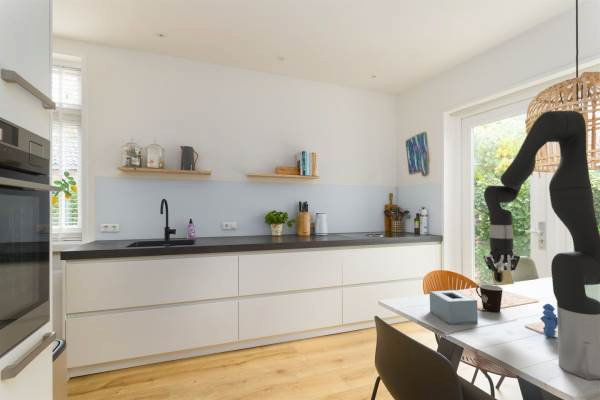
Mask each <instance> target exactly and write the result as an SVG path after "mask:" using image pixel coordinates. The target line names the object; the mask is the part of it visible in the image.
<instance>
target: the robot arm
mask: <svg viewBox="0 0 600 400" xmlns="http://www.w3.org/2000/svg"><path fill="white" fill-rule="evenodd" d="M586 125H587V124H586V119H585V117H584V115H583V114H582V113H581V112H579V111H576V110H549V111H545V112H543V113H541V114H540V115H539V116H538V117H537V118H536V119H535V120H534V122H533V123H532V125H531V127H530V129H529V131H528V133H527V135H526V136H525V138H524V140H523V142H522V144H521V146H520V148H519V150H518V151H517V154H516V155H515V157H514V159H513V160H512V162H511V163H510V164H509V166H508V167H507V168H505V169H506V170H505V171H504V172H503V173H502V174H501V177H500V182H501V184H490V185H488V186H487V187H486V188H485V189H484V191H483V197H484V201H485V204H486V206H487V210H488V212H489V213H488V214H489V233H488V234H489V249H490V252H489V254H488V255H483V256H482V257H483V259H484V262H485V264H486V266H487V268H488V269H489V270H490V271H492V272H494V279H495V281H496V282H501V273H500V272H501V271H502V270H510V272H513V271H515V270H516V268H517V266H518V264H519V261H520V258H521V256H520V255H517V254H515V253H514V252H513V250H514V229H513V215H512V211H511V210H509V209H506V208H502V206H501V204H510V203H511V202H514V201H515V200H516V199H517V197H518V196H519V193H520V191H521V188H522V186H523V184H525V182H526V181H527V180H528V179H529V178H530V176H531V175H532V174H533V172H534V171H535V167H536V157H537V154H538V152H539V151H540V149H541V148H542V147H544V146H545V145H546V144H547V143H558V145H559V146H558V147H559V153H560V158H559V162H558V165H557V167H556V169H555V171H554V173H553V175H552V177H551V179H550V182H549V186H548V191H549V200H550V204H551V205H550V206H551V209H552V210H553V212H554V213H555V215H556V216H557V218H558V219H559V220H560V221H561V222H562V224H563V225H564V226H565V227H566V229H567V230H568V232H569V234H570V235H571V239H572V242H573V248H574V251H563V252H559V253H556V254H555V255H554V256H553V258H552V261H551V265H550V266H551V268H550V269H551V279H552V281H551V282H552V292H553V295H554V298H555V299H556V310H557V311H556V312H557V314H556V317H557V321H558V326H557V348H558V349H557V350H558V351H557V352H558V365H559V367H560V368H561V369H562V370H564V371H565V372H568V373H570V374H572V375H574V376H578V377H580V378H583V379H584V380H585V379H586V380H587V381H590V380H591V381H592V380H600V301H599V300H598V299H595V298H593V297H590V296H588V295H587V293H586V286H595V285H597V286H598V285H600V231H599V226H598V221H597V216H596V215H597V214H596V211H595V210H596V209H595V204H594V202H595V201H594V195H593V189H592V185H591V184H592V183H591V179H590V171H589V164H588V155H587V152H588V151H587V126H586ZM502 268H503V269H502ZM494 279H493V280H494Z"/></svg>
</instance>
